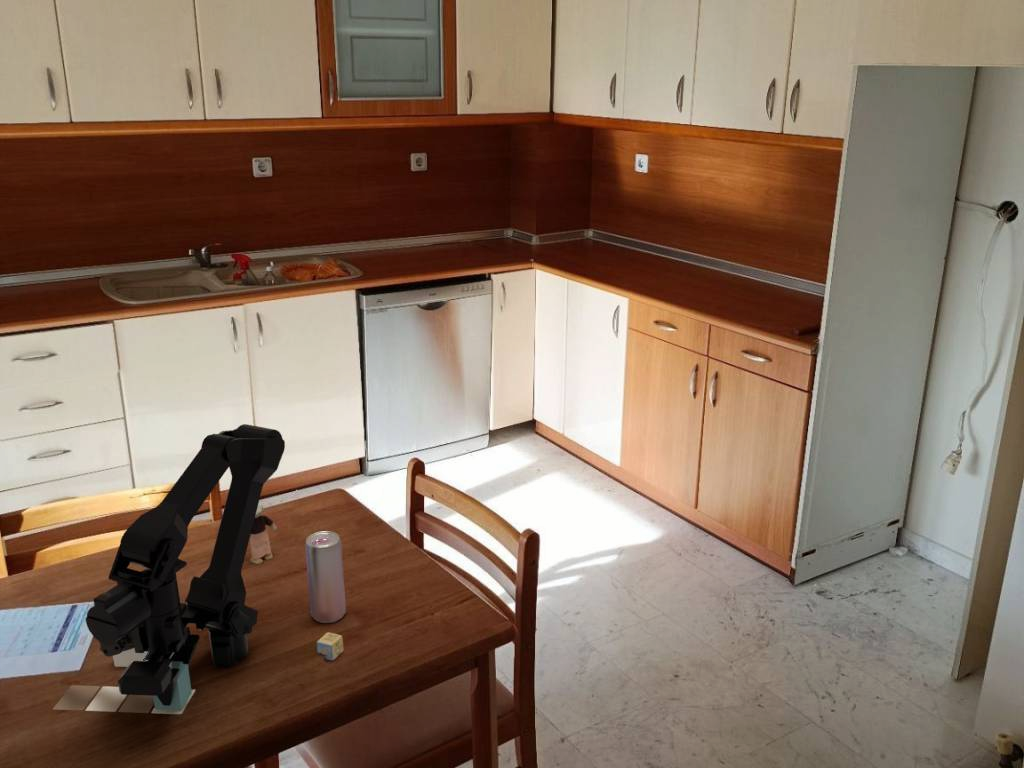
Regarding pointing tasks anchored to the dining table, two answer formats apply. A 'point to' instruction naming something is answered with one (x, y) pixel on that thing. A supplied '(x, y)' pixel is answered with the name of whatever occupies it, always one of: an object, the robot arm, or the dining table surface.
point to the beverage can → (325, 576)
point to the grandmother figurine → (260, 536)
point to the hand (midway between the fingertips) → (172, 695)
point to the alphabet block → (330, 645)
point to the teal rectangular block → (178, 689)
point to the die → (128, 657)
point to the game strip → (109, 701)
